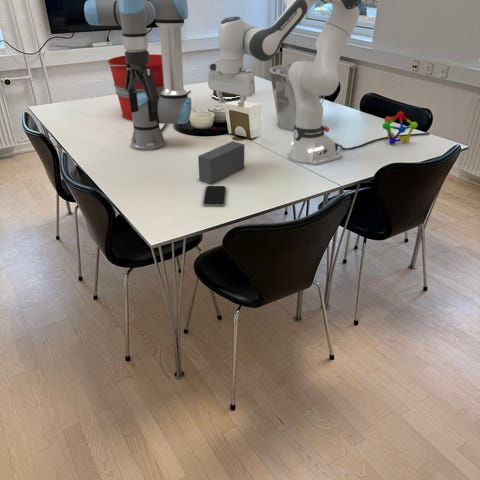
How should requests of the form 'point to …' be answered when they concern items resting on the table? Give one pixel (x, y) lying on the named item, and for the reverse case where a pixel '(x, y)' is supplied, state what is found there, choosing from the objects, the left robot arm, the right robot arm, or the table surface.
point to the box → (221, 162)
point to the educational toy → (398, 128)
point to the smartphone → (214, 196)
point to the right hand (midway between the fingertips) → (231, 104)
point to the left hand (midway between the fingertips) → (143, 116)
